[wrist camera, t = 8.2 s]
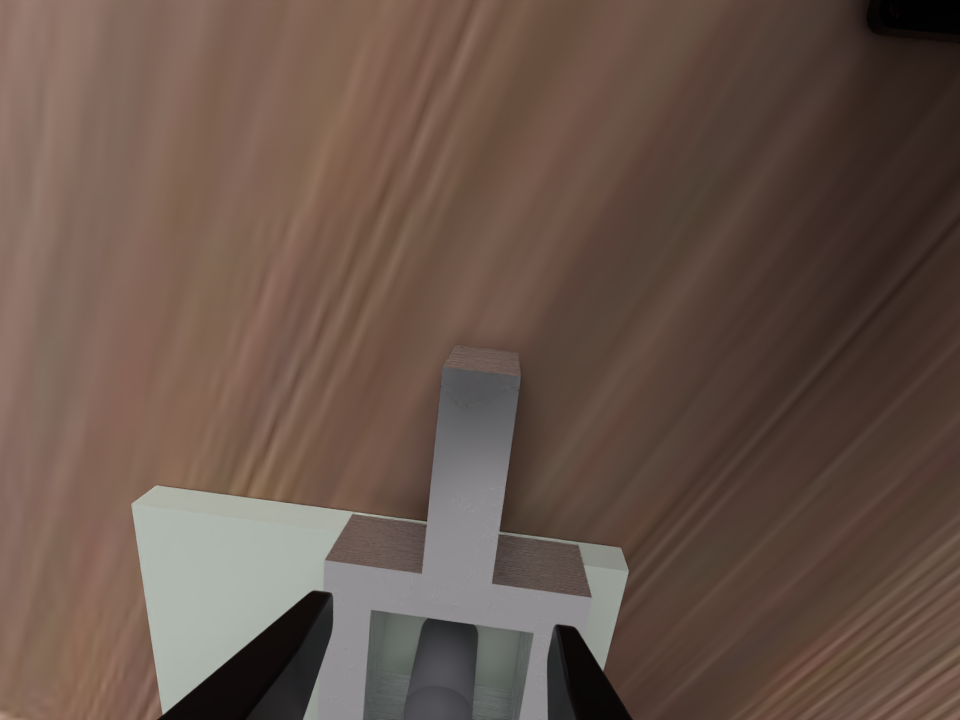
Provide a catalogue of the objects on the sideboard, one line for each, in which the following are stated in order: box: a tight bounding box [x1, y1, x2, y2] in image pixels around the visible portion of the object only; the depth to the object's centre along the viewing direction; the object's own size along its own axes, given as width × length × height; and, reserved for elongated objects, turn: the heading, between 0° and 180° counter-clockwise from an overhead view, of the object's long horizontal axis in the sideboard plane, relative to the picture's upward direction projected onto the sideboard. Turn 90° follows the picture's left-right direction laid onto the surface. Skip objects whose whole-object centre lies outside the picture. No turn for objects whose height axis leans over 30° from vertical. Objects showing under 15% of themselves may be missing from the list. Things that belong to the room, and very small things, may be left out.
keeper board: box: [131, 485, 629, 720], centre depth 16 cm, size 18×11×5 cm, turn 84°
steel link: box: [317, 345, 592, 720], centre depth 14 cm, size 14×8×3 cm, turn 174°
